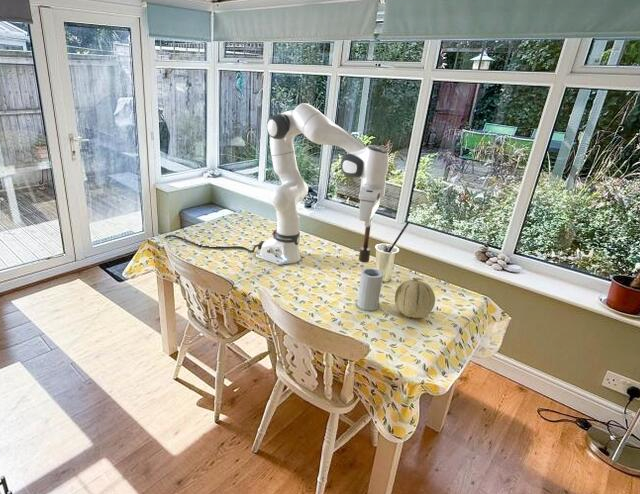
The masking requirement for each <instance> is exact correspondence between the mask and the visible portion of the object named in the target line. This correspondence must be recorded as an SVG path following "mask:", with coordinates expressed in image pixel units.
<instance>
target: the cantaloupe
mask: <svg viewBox="0 0 640 494" xmlns="http://www.w3.org/2000/svg"><path fill="white" fill-rule="evenodd" d="M394 302H395V306H396V308H397V310H398V311H399V312H400V313H401V314H402V315H403V316H404V317H407V318H411V319H412V318H413V319H421V318H425V317H427V316H429V315H430V314H431V313H432V311H433V310H434V307H435V303H436V295H435V292H434V290H433V288H432V287H431V286H430V285H429V284H428V283H426V282H424V281H422V280H419V279H417V278H416V277H413V278H412V279H411V280H406V281H403V282H402V283H401V284H399V286H398V287H397V288H396V290H395V294H394Z"/></svg>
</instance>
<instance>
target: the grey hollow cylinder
mask: <svg viewBox="0 0 640 494" xmlns="http://www.w3.org/2000/svg"><path fill="white" fill-rule="evenodd" d="M382 278H383V273H382V272H381V271H380V270H378V269H376V268H374V267H364V268H363V269H361V272H360V278H359V287H358V293H357V302H356V305H357V307H358V308H360V309H362V310H363V311H369V312H372V311H376V310H378V309H379V303H380V296H381V291H382V284H383V282H382Z"/></svg>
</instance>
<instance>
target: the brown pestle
mask: <svg viewBox="0 0 640 494" xmlns="http://www.w3.org/2000/svg"><path fill="white" fill-rule="evenodd" d="M371 219H372V220H373V218H371ZM371 226H372V223H371V220H370V226H369V227H365V229H364V237H363V245H362V246H361V247H359V255H358V261H359V262H361V263H369V262H370V258H371V257H370V256H371V248H370V247H369V241H370V235H371V234H370V233H371Z"/></svg>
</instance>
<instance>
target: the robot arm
mask: <svg viewBox="0 0 640 494" xmlns="http://www.w3.org/2000/svg"><path fill="white" fill-rule="evenodd" d="M266 131H267V134H268V136H269V148H270V156H271V161H272V162H271V163H272V167H273V173H275V175H277V176H278V179H279V180H280V183H281V184H280V185H278V186H277V187H275V188H274V189H273V190H272V191H271V193H270V195H269V201H270V204H271V205H272V206H273V208H274V209H275V213H276V227H275V229H274V230H273V231H272V232H271V237H269V238H267V239H266V240H260V242H259V243H258V244H255V245H254V246H253V248H252V250H251V249H249V248H247V247H244V246H240V245H234V246H233V245H231V246H216V247H209V246H210V245H206V246H202V245H203V244H200V245H198V244H199V243H197V244H194V243H195V242H194V241H191V240H188V239H187V238H185V237H182V236H179V235H174V234H167V235H166V236H165V237H164V239H168V238H176V239H180V240H183V241H185V242H187V243H189V244H192V245H195V246H198V247H202V248H209V249H243V250H245V251H247V252H250V253H253V252H255V250H256V248H257V252H256V253H255V256H256V258H258V259H261V260H263V261H264V260H265V261H267V262H270V263H273V264H277V265H278V266H282V265H285V264H286V265H287V264H294V263H298V262H299V261H300V260H301V258H302V257H301V251H300V239H301V232H300V222H301V217H300V215H299V214H298V212H297V204H298V203H299V202H301V201H303V200H304V199H305V197H306V196H307V195H308V193H309V186H308V184H307V182H306V181H305V180H304V178H302V176H301V175H302V174H301V173H300V170H299V167H298V162H297V157H296V150H295V149H296V148H295V144H294V141H295V138H296V137H302V136H305V138H306V139H308V140H309V141H310V142H311V143H314V144H316V145H324V146H325V145H326V146H336V147H339V148H341V149H343V150H344V151H346V152H347V153H346V154H344V155H343V156H342V158H341V160H340V170H341V173H342V174H343V176H345V177H346V178H350V179H356V178H359V179H360V189H359V193H358V200H359V207H358V219H359V221H361V222H364V227H365V228H366V227H369V226H370V220H371V224H372V223H373V218H374V215H375V213H376V212H377V210H378V209H379V207H380V203H381V198H383V197H385V193H386V185H387V180H386V178H387V174H388V171H389V160H390V159H389V151H388V149H387V148H386V147H384V146H381V145H377V144H370V145H369V144H368V145H366V144H365V143H363V142H362V141H361V140H359V139H358V138H357V137H355V136H354V135H353V134H352V133H350V132H349V131H347V130H346V129H344V128H342V127H340V126H339V125H338V124H336V123H335V122H333V121H332V120H331V119H329V118H328V117H327V116H326V115H325V114H323V113H322V112H321V111H320V110H319V109H317V108H316V107H314V106H313V105H311V104H310V103H307V102H301V103H300V104H298V105H296V106H295V107H294V109H292V110H291V109H290V110H287V111H284V112H281V113H276V114H273V115H271V116H270V117H269V118H267V121H266ZM371 218H372V219H371ZM183 238H184V239H183Z"/></svg>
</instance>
